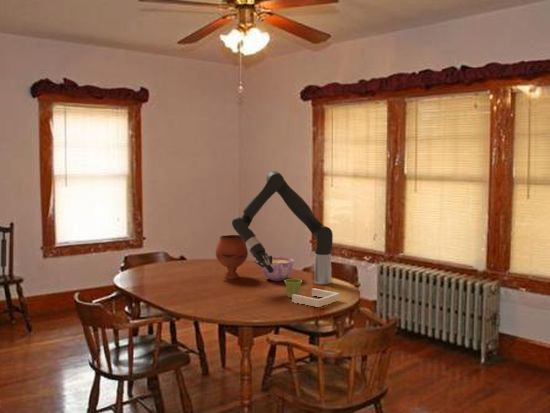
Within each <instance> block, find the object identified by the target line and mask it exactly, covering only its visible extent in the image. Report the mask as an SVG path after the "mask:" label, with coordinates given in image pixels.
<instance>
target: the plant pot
mask: <svg viewBox="0 0 550 413" xmlns="http://www.w3.org/2000/svg"><path fill="white" fill-rule="evenodd" d="M283 281H284V283H285V288H286V289H285V290H286V296H287V298H291V299H292V295H293V294H296V295H300V291H301V286H302V283H303V280H302V279H300V278H285V279H284V280H283Z"/></svg>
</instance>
